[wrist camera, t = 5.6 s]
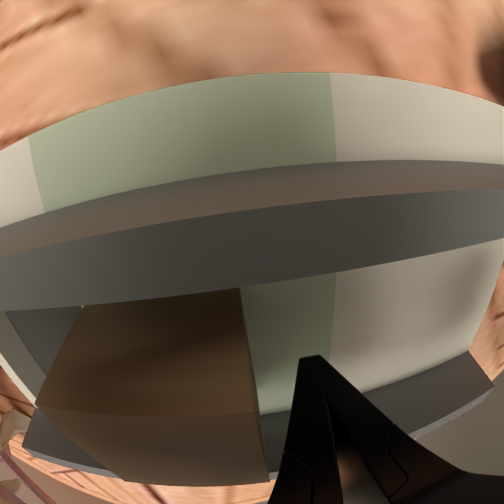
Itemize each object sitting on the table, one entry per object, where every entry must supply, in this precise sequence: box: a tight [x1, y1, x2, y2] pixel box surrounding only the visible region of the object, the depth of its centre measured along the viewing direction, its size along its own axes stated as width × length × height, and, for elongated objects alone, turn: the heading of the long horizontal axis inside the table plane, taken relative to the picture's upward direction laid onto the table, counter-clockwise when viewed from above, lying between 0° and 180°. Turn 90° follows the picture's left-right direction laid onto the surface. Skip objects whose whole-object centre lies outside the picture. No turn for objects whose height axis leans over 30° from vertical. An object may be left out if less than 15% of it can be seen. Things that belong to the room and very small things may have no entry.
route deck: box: [0, 72, 504, 480], centre depth 9 cm, size 25×16×5 cm, turn 96°
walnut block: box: [34, 287, 270, 487], centre depth 7 cm, size 5×5×4 cm
